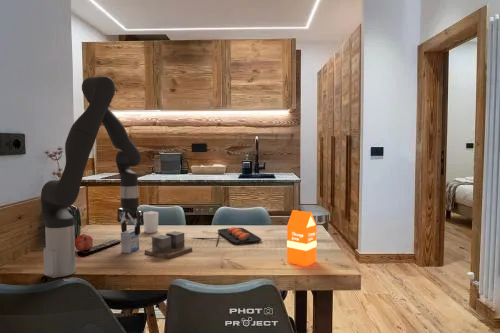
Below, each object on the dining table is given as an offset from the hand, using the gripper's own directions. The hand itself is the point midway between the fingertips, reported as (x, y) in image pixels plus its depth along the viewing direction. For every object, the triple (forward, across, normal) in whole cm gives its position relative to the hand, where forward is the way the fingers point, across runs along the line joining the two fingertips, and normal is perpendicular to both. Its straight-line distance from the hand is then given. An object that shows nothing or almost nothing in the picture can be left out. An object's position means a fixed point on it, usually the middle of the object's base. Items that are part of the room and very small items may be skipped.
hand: (130, 233), depth 166 cm
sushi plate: (+9, +21, +38) cm, 45 cm away
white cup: (+8, -20, +30) cm, 37 cm away
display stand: (+8, +16, +7) cm, 19 cm away
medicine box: (+8, 0, 0) cm, 8 cm away
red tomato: (+8, -17, -12) cm, 22 cm away
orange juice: (+8, +69, +26) cm, 74 cm away
